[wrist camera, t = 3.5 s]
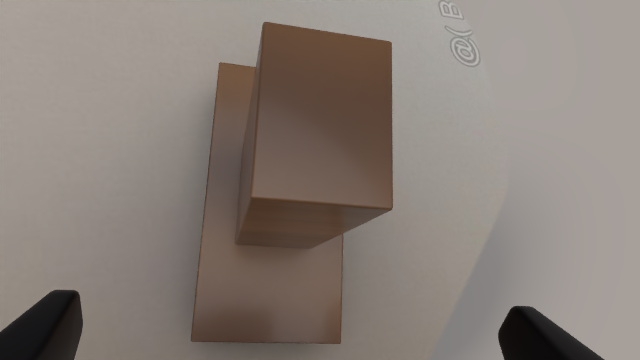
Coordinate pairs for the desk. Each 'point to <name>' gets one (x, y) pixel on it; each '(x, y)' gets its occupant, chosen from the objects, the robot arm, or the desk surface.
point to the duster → (291, 184)
